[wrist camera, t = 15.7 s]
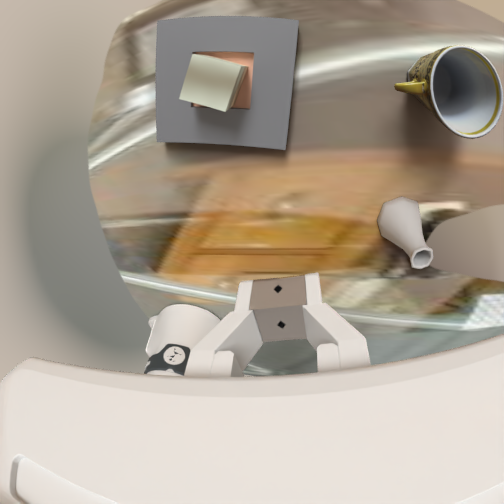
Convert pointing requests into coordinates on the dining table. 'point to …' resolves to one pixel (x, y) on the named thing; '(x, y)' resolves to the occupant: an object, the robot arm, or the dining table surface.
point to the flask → (405, 229)
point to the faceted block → (213, 82)
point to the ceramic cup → (457, 89)
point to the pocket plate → (252, 89)
